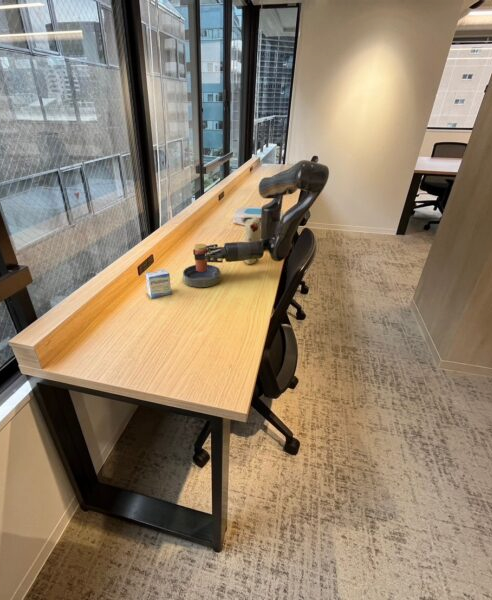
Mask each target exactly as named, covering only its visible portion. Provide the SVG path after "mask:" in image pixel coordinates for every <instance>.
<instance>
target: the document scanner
mask: <svg viewBox="0 0 492 600" xmlns="http://www.w3.org/2000/svg"><path fill="white" fill-rule="evenodd" d="M261 208H262V206H243V207H237V208H236V210H235V211H234V214H233V216H232V223H234V224H238V225H241V226H245V225H246V220H247V219H251V218H254V217H257V218H259V219H261ZM283 215H284V210H283V209H281V216H280V220H281V218H282V216H283ZM260 226H261V222H260Z"/></svg>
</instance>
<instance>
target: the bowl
mask: <svg viewBox="0 0 492 600" xmlns="http://www.w3.org/2000/svg"><path fill="white" fill-rule="evenodd" d="M182 277H183V278H182V279H183V282H184V283H185V285H188V286H191V287H195V288H207V287H212V286H214V285H217V284H218V283H219V282H220V281H221V270H220V268H218V267H217V266H215V265H212V264H207V271H204V272H198V271H196V264H193V265H190V266H188V267H186V268H185V269H183V270H182Z"/></svg>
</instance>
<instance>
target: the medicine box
mask: <svg viewBox="0 0 492 600" xmlns="http://www.w3.org/2000/svg"><path fill="white" fill-rule="evenodd" d="M144 275H145V282H146V288H147V295H148V296H149V297H150V299H156V298H160V297H165V296H167V295H171V294H172V286H171V277H170V276H171V275H170V272H169V271H168V270H167V269H160V270H156V271H151V272H146V273H144Z"/></svg>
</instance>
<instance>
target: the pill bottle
mask: <svg viewBox="0 0 492 600" xmlns="http://www.w3.org/2000/svg"><path fill="white" fill-rule="evenodd" d="M207 246H208V245H207V244H205V243H197V244H195V245H194V249H195V254H204V255H205V254H206V253H208V252H207ZM194 261H195V262H194V263H195V265H196V271H198V272H204V271H207V265H208V262H207V261H206V260H205V259H204V260H195V259H194Z"/></svg>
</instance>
